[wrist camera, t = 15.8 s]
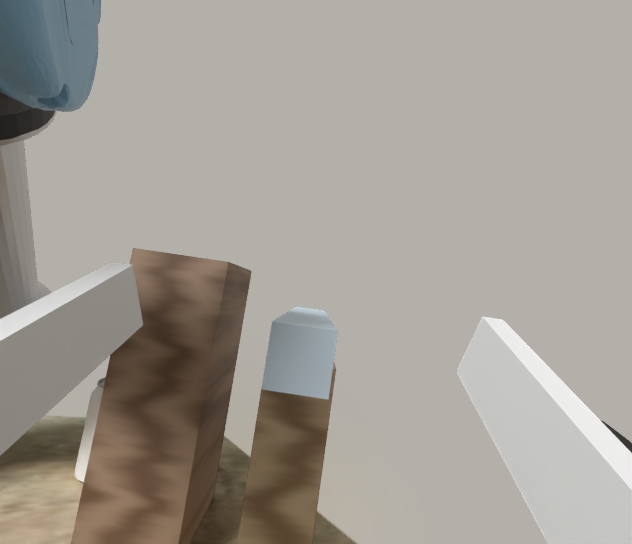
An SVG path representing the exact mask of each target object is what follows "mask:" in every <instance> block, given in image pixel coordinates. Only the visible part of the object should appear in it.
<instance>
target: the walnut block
mask: <svg viewBox="0 0 632 544" xmlns="http://www.w3.org/2000/svg"><path fill="white" fill-rule="evenodd" d="M130 265H133V269H134V274H135V280H136V286H137V292H138V297H139V303H140V309H141V314H142V320H143V326H142V327H140V328H139V329H138V330H137V331H136V332H135V333H134V334H133V335H132V336H131V337H130V338H128V339H127V340H126V341H125V342H124V343H123V344H122V345H121V346H120V347H119V348H118V349H116V350H115V351H114V352H113V353H112V354H111V355H110V361H109V365H108V370H107V375H106V379H105V384H104V389H103V394H102V398H101V403H100V408H99V413H98V417H97V422H96V427H95V432H94V436H93V441H92V446H91V451H90V456H89V460H88V465H87V470H86V475H85V479H84V484H83V489H82V494H81V498H80V503H79V508H78V513H77V518H76V522H75V527H74V532H73V537H72V541H71V544H190V543H191V541H192V539H193V537H194V535H195V533H196V531H197V529H198V527H199V525H200V523H201V521H202V519H203V517H204V515H205V513H206V511H207V509H208V507H209V505H210V503H211V501H212V499H213V495H214V490H215V484H216V478H217V472H218V466H219V460H220V454H221V448H222V442H223V436H224V431H225V424H226V419H227V413H228V407H229V401H230V395H231V389H232V383H233V377H234V372H235V366H236V360H237V354H238V347H239V342H240V336H241V330H242V324H243V318H244V312H245V307H246V300H247V294H248V289H249V283H250V277H251V271H250V270H248V269H245V268H242V267H239V266H237V265H235V264H232V263H229V262H224V261H217V260H211V259H204V258H197V257H190V256H184V255H177V254H170V253H163V252H156V251H149V250H143V249H136V248H133V251H132V255H131V260H130Z"/></svg>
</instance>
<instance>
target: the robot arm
mask: <svg viewBox="0 0 632 544" xmlns="http://www.w3.org/2000/svg"><path fill="white" fill-rule="evenodd" d="M100 8H101V0H0V456H1V455H2V454H3V453H4V452H5V451H6V450H7V449H8V448H9V447H10V446H11V445H13V444H14V443H15V442H16V441H17V440H18V439H19V438H20V437H21V436H22V435H23V434H25V433H26V432H27V431H28V430H29V429H30V428H31V427H32V426H33V425H34V424H36V423H37V422H38V421H39V420H40V419H41V418H42V417H43V416H44V415H45V414H46V413H47V412H49V410H51V409H52V408H53V407H54V406H55V405H56V404H57V403H58V402H60V401H61V400H62V399H63V398H64V397H65V396H66V395H67V394H68V393H69V392H71V391H72V390H73V389H74V388H75V387H76V386H77V385H78V384H79V383H80V382H81V381H82V380H84V379H85V378H86V377H87V376H88V375H89V374H90V373H91V372H92V371H93V370H95V369H96V368H97V367H98V366H99V365H100V364H101V363H102V362H103V361H104V360H106V358H108V357H109V356H110V355H111V354H112V353H113V352H114V351H115V350H116V349H118V348H119V347H120V346H121V345H122V344H123V343H124V342H125V341H126V340H127V339H128V338H130V337H131V336H132V335H133V334H134V333H135V332H136V331H137V330H138V329H139V328H140V327H142V326H143V320H142V314H141V309H140V303H139V297H138V292H137V286H136V280H135V274H134V269H133V265H130V264H124V263H117V262H111V263H110V264H108V265H106V266H104V267H102V268H100V269H98V270H96V271H94V272H92V273H90V274H88V275H86V276H84V277H82V278H80V279H78V280H76V281H74V282H72V283H70V284H68V285H66V286H65V287H62V288H60V289H58V290H56V291H54V292H53V293H52V292H51V291H50V290H49V289H48V288H47V287H46V286H44V285H43V284H42V283H40V282H38V281H37V271H36V261H35V251H34V241H33V230H32V220H31V210H30V200H29V190H28V179H27V169H26V159H25V149H24V140H25V139H28V138H30V137H32V136H35V135H37V134H38V133H40V132H41V131H43V130H44V129H46V128H47V127H48V126H49V125H50V123H51V122H52V121H53V120H54V117H55V115H56V111H62V112H68V111H75V110H77V109H79V108H80V107H81V106H82V105H83V104H84V102H85V101H86V100H87V98H88V96H89V94H90V91H91V87H92V84H93V80H94V75H95V70H96V65H97V57H98V27H97V26H98V24H99V21H100V12H101V9H100ZM456 372H457V374H458V376H459V378H460V380H461V382H462V384H463V386H464V387H465V389H466V391H467V393H468V395H469V397H470V399H471V400H472V402H473V404H474V406H475V408H476V410H477V412H478V413H479V416H480V417H481V419H482V421H483V423H484V425H485V427H486V429H487V431H488V432H489V434H490V436H491V438H492V440H493V442H494V444H495V445H496V447H497V449H498V451H499V453H500V455H501V457H502V459H503V461H504V463H505V464H506V466H507V468H508V470H509V472H510V474H511V476H512V477H513V479H514V481H515V483H516V485H517V487H518V489H519V491H520V493H521V494H522V496H523V498H524V500H525V502H526V504H527V506H528V507H529V509H530V511H531V513H532V515H533V517H534V519H535V521H536V523H537V524H538V526H539V528H540V530H541V532H542V534H543V536H544V537H545V539H546V541H547V543H548V544H632V443H631V442H630V441H629V440H627V439H626V438H625V437H623V436H622V435H621V434H619V433H618V432H617V431H615V430H614V429H613V428H611V427H610V426H609V425H607V424H606V423H605V422H603V421H600V420H599V419H598V418H597V417H596V416H595V415H594V414H593V412H592V411H591V410H589V408H588V407H587V406H586V405H585V404H584V403H583V402H582V401H581V400H580V399H579V398H578V397H577V396H576V395H575V394H574V393H573V392H572V391H571V390H570V389H569V388H568V387H567V386H566V384H565V383H564V382H563V381H562V380H561V379H560V378H559V377H558V376H557V375H556V374H555V373H554V372H553V371H552V370H551V369H550V368H549V367H548V366H547V365H546V364H545V363H544V362H543V361H542V360H541V359H540V358H539V357H538V356H537V355H536V353H534V351H533V350H532V349H531V348H530V347H529V346H528V345H527V344H526V343H525V342H524V341H523V340H522V339H521V338H520V337H519V336H518V335H517V334H516V333H515V332H514V331H513V330H512V329H511V328H510V327H509V326H508V324H507V323H506V322H505V321H504V320H501V319H495V318H488V317H482V318H481V321H480V323H479V325H478V327H477V329H476V331H475V333H474V335H473V337H472V339H471V342H470V344H469V346H468V348H467V350H466V352H465V354H464V357H463V359H462V361H461V363H460V365H459V367H458V369H457V371H456Z"/></svg>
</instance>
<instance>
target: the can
mask: <svg viewBox="0 0 632 544" xmlns="http://www.w3.org/2000/svg"><path fill="white" fill-rule="evenodd" d="M105 379H106V377H105V378H102V379H100V380H99V381H98V383H97V384H98V385H97V387H96V388H95V389H94V391H93V392H92V394H91V398H90V402H89V406H88V411H87V416H86V420H85V425H84V429H83V434H82V439H81V444H80V448H79V453H78V458H77V463H76V468H75V477H76V478H77V479H78V480H79V481H80V482H81V483H84V479H85V475H86V470H87V465H88V460H89V456H90V451H91V446H92V441H93V436H94V432H95V427H96V422H97V417H98V413H99V408H100V403H101V398H102V394H103V389H104V384H105Z"/></svg>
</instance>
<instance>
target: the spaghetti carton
mask: <svg viewBox="0 0 632 544" xmlns="http://www.w3.org/2000/svg"><path fill="white" fill-rule="evenodd" d="M337 335H338V330H337V329H336V327H335V326H334V324H333V323H332V321H331V320H330V318H329V316H328V315H327V313H326V311H323V310H316V309H310V308H303V307H296V308H294V309H292V310H291V311H289V312H287V313H286V314H284V315H282V316H281V317H279V318H277V319H276V320H274V321H273V322H272V326H271V332H270V339H269V346H268V351H267V358H266V364H265V370H264V377H263V383H262V389H263V390H269V391H276V392H282V393H289V394H295V395H302V396H309V397H315V398H322V399H328V400H329V393H330V386H331V378H332V371H333V364H334V356H335V349H336V342H337Z"/></svg>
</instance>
